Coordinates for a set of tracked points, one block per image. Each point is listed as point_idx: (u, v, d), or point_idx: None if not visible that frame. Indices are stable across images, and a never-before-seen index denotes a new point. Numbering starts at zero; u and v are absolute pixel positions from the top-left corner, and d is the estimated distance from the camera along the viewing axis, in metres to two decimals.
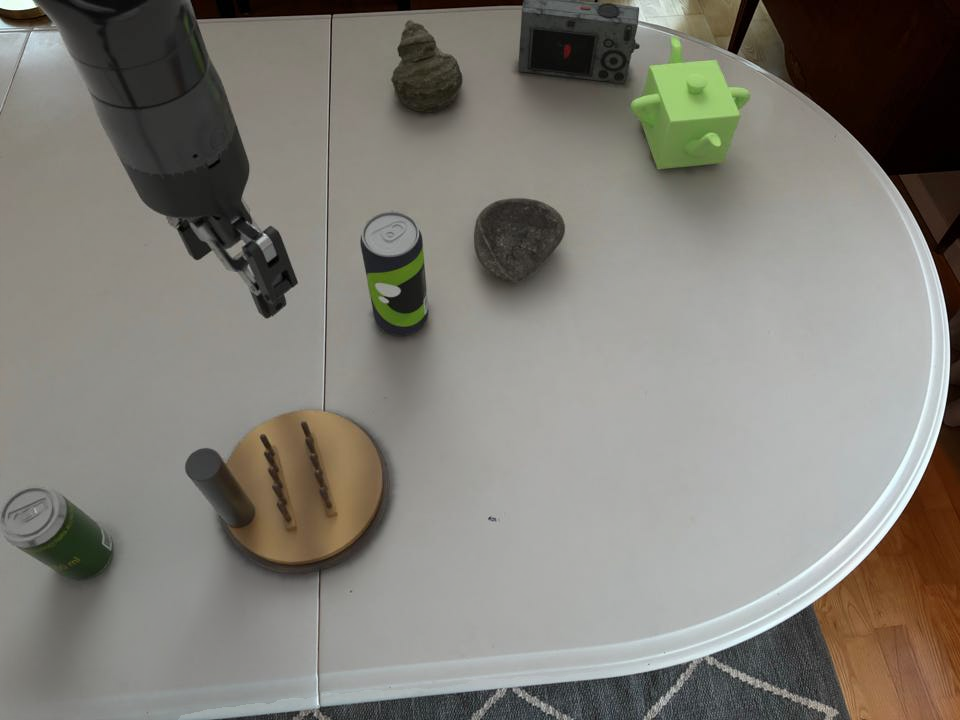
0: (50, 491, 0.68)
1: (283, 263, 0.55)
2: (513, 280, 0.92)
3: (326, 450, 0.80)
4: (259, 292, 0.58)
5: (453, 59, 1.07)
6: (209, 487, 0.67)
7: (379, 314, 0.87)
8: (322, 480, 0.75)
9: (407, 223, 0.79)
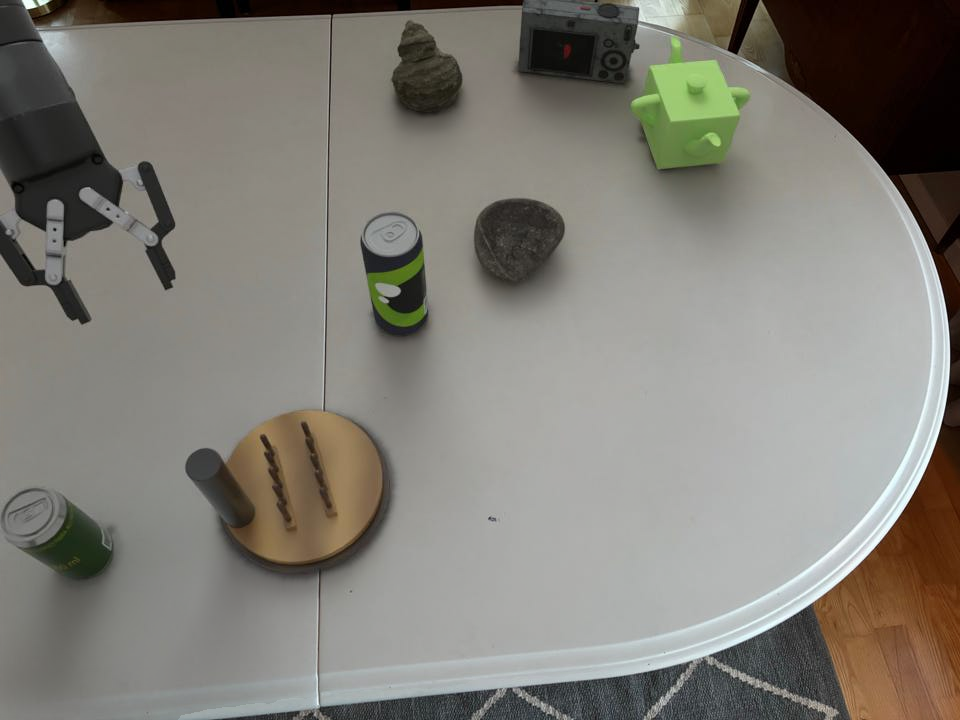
0: (50, 491, 0.68)
1: None
2: (513, 280, 0.92)
3: (326, 450, 0.80)
4: (157, 237, 0.67)
5: (453, 59, 1.07)
6: (209, 487, 0.67)
7: (379, 314, 0.87)
8: (322, 480, 0.75)
9: (407, 223, 0.79)
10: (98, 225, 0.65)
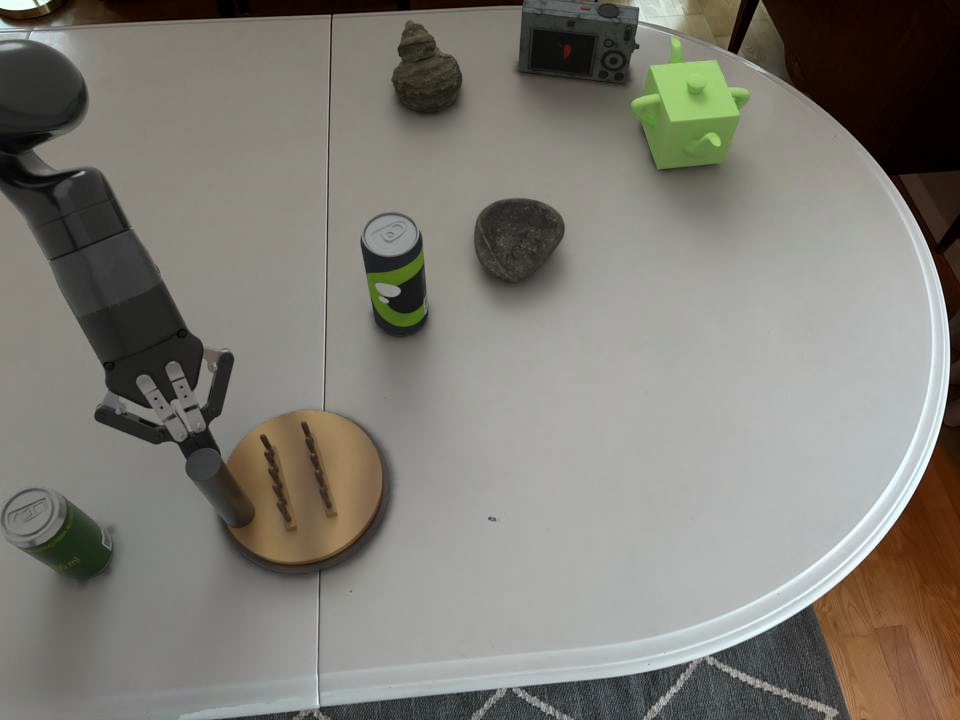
0: (50, 491, 0.68)
1: None
2: (513, 280, 0.92)
3: (326, 450, 0.80)
4: (205, 427, 0.70)
5: (453, 59, 1.07)
6: (209, 487, 0.67)
7: (379, 314, 0.87)
8: (322, 480, 0.75)
9: (407, 223, 0.79)
10: None
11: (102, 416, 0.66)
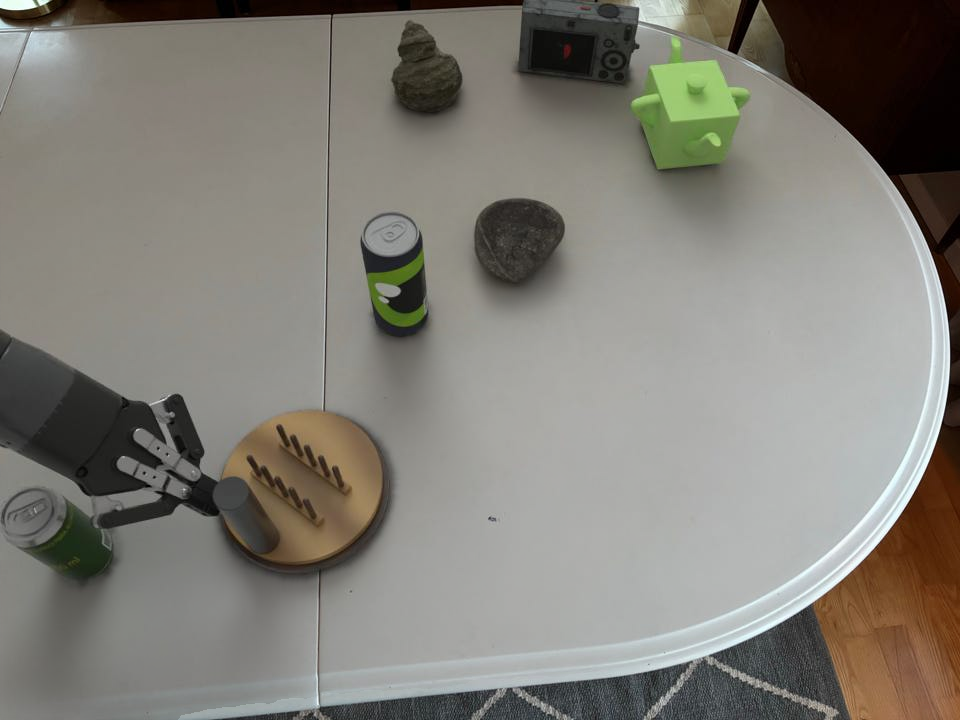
0: (50, 491, 0.68)
1: None
2: (513, 280, 0.92)
3: (304, 445, 0.81)
4: (199, 471, 0.68)
5: (453, 59, 1.07)
6: (246, 511, 0.66)
7: (379, 314, 0.87)
8: (326, 463, 0.76)
9: (407, 223, 0.79)
10: None
11: (109, 520, 0.62)
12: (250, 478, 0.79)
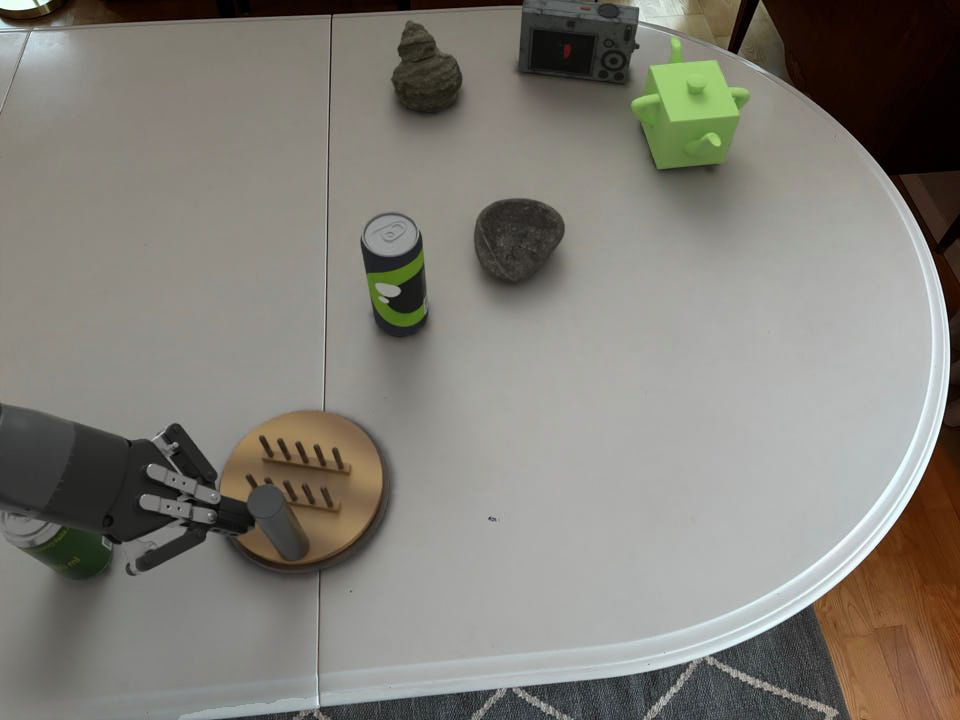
0: None
1: None
2: (513, 280, 0.92)
3: (286, 449, 0.80)
4: (218, 493, 0.67)
5: (453, 59, 1.07)
6: (285, 512, 0.66)
7: (379, 314, 0.87)
8: (321, 451, 0.77)
9: (407, 223, 0.79)
10: None
11: (148, 561, 0.60)
12: None
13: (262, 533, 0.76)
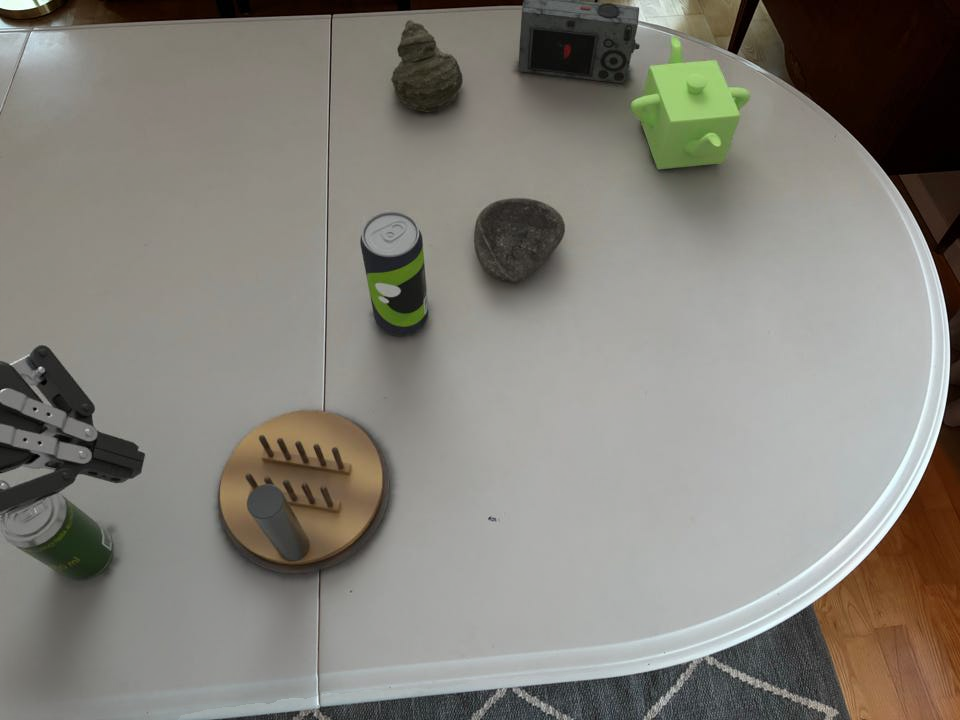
0: None
1: None
2: (513, 280, 0.92)
3: (286, 449, 0.80)
4: (95, 429, 0.56)
5: (453, 59, 1.07)
6: (285, 512, 0.66)
7: (379, 314, 0.87)
8: (321, 451, 0.77)
9: (407, 223, 0.79)
10: None
11: None
12: None
13: (262, 533, 0.76)
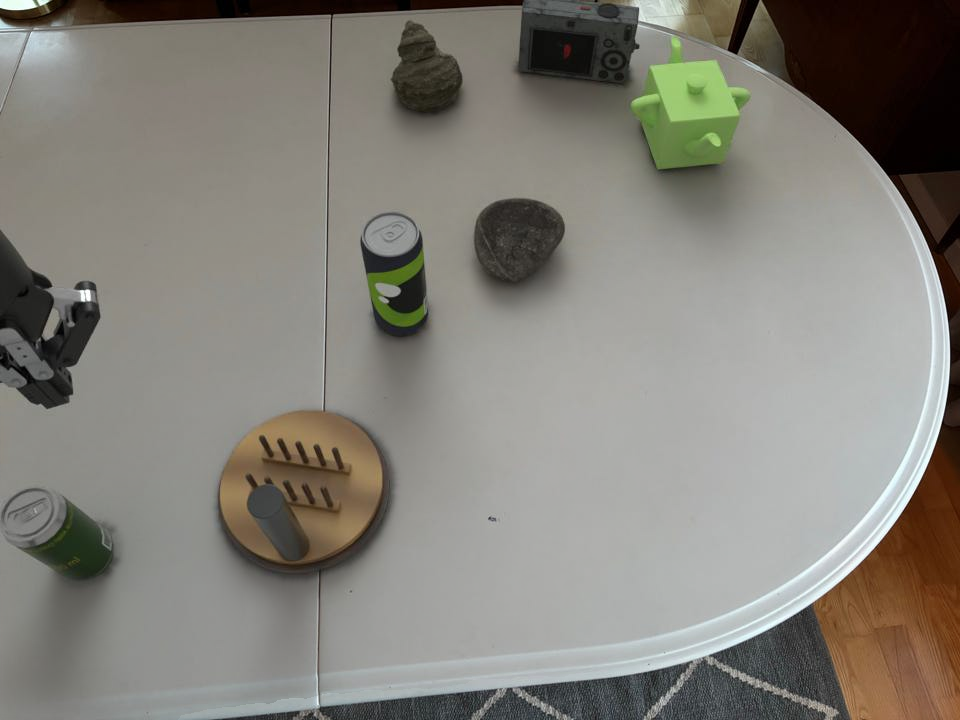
0: (50, 491, 0.68)
1: None
2: (513, 280, 0.92)
3: (286, 449, 0.80)
4: None
5: (453, 59, 1.07)
6: (285, 512, 0.66)
7: (379, 314, 0.87)
8: (321, 451, 0.77)
9: (407, 223, 0.79)
10: None
11: None
12: None
13: (262, 533, 0.76)
